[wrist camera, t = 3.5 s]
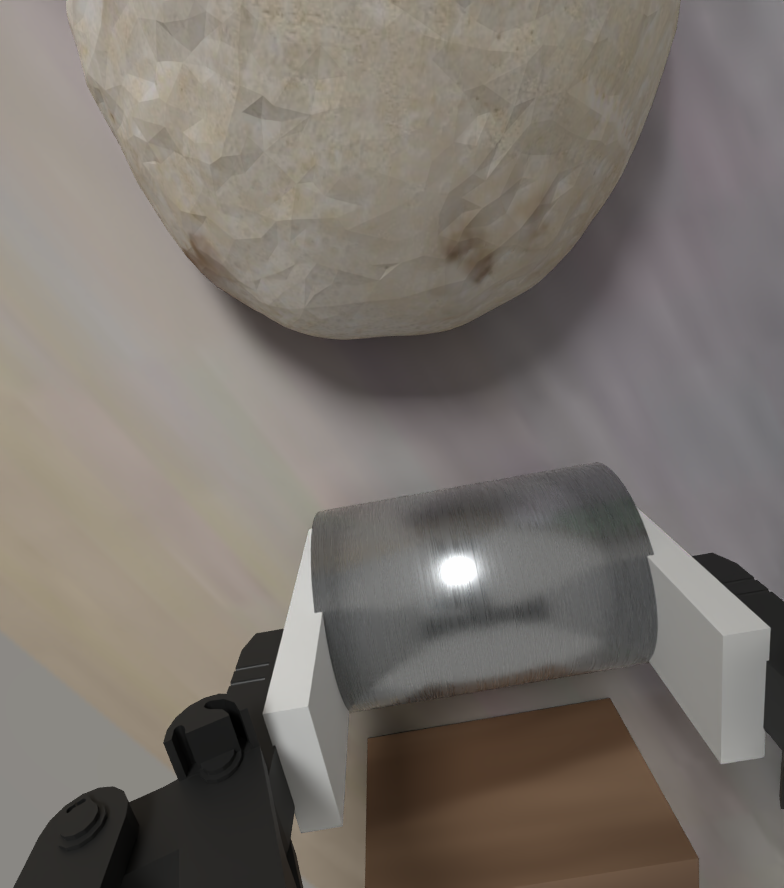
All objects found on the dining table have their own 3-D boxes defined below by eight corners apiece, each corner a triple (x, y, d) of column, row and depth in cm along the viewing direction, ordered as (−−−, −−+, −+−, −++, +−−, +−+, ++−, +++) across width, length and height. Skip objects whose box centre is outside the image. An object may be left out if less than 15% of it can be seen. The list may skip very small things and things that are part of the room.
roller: (324, 485, 15) (298, 566, 10) (572, 441, 15) (658, 503, 10) (358, 633, 16) (348, 764, 12) (587, 593, 16) (670, 711, 11)
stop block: (367, 738, 18) (364, 911, 13) (609, 697, 17) (698, 858, 13) (384, 805, 18) (387, 990, 14) (614, 768, 18) (699, 942, 13)
